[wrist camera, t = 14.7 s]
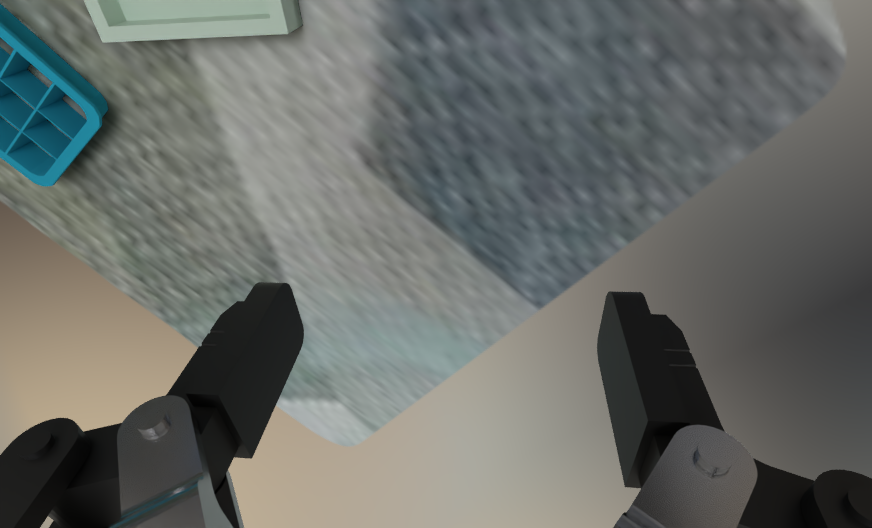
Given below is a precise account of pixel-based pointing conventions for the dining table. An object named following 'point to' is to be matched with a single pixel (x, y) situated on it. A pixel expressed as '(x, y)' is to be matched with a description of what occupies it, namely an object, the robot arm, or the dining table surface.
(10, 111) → the ice cube tray
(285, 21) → the tray
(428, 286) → the dining table surface
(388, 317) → the dining table surface
